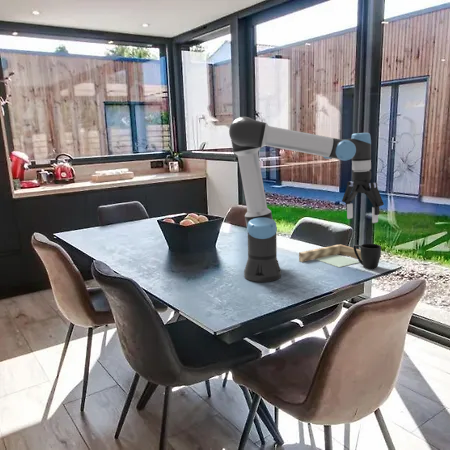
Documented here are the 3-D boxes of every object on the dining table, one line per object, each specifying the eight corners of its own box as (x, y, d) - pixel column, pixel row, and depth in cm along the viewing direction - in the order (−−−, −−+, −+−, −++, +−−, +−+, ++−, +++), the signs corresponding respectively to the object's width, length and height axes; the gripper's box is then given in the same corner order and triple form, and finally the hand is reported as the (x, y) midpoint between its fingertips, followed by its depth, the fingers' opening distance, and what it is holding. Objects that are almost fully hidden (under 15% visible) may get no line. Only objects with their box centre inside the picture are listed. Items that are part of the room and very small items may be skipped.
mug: (359, 261, 193) (359, 241, 191) (383, 267, 184) (384, 245, 182) (348, 265, 188) (349, 244, 186) (373, 271, 179) (374, 249, 177)
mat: (338, 267, 186) (338, 266, 186) (315, 259, 199) (315, 258, 198) (360, 262, 192) (360, 261, 192) (336, 254, 205) (336, 254, 205)
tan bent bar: (323, 269, 183) (323, 260, 183) (299, 260, 197) (299, 252, 196) (365, 259, 196) (365, 251, 195) (339, 252, 209) (340, 244, 209)
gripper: (392, 170, 171) (392, 222, 176) (345, 168, 192) (346, 215, 197) (380, 172, 168) (380, 225, 172) (333, 170, 189) (334, 218, 193)
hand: (362, 220), depth 184 cm, fingers open, 13 cm apart
